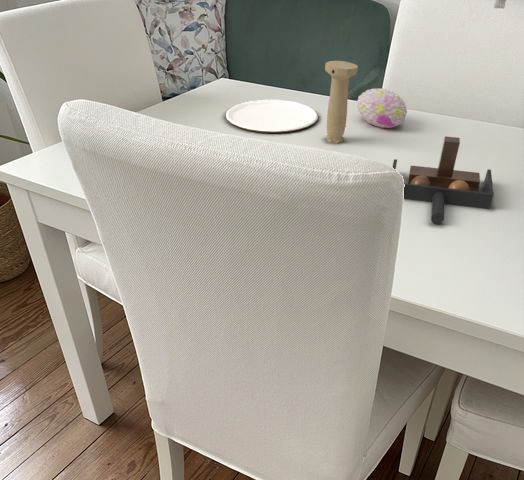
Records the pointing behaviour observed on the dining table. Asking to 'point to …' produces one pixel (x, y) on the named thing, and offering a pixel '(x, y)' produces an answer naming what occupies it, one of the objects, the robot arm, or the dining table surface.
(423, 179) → the crumb
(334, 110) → the handle
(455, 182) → the crumb
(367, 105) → the decorative item
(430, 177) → the brush
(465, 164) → the dining table surface
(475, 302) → the dining table surface
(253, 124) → the plate
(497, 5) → the robot arm
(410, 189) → the dustpan
